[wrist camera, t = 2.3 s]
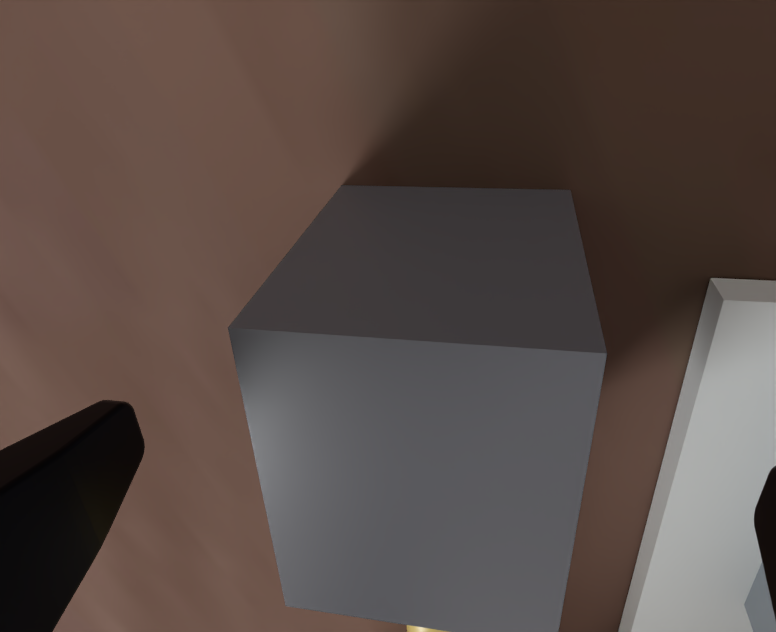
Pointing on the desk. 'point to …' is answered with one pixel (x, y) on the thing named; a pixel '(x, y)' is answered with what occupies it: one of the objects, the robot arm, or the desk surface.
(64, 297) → the desk surface
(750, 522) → the board
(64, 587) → the robot arm
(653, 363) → the desk surface
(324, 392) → the plug
